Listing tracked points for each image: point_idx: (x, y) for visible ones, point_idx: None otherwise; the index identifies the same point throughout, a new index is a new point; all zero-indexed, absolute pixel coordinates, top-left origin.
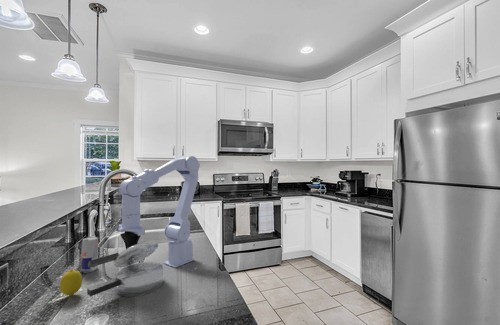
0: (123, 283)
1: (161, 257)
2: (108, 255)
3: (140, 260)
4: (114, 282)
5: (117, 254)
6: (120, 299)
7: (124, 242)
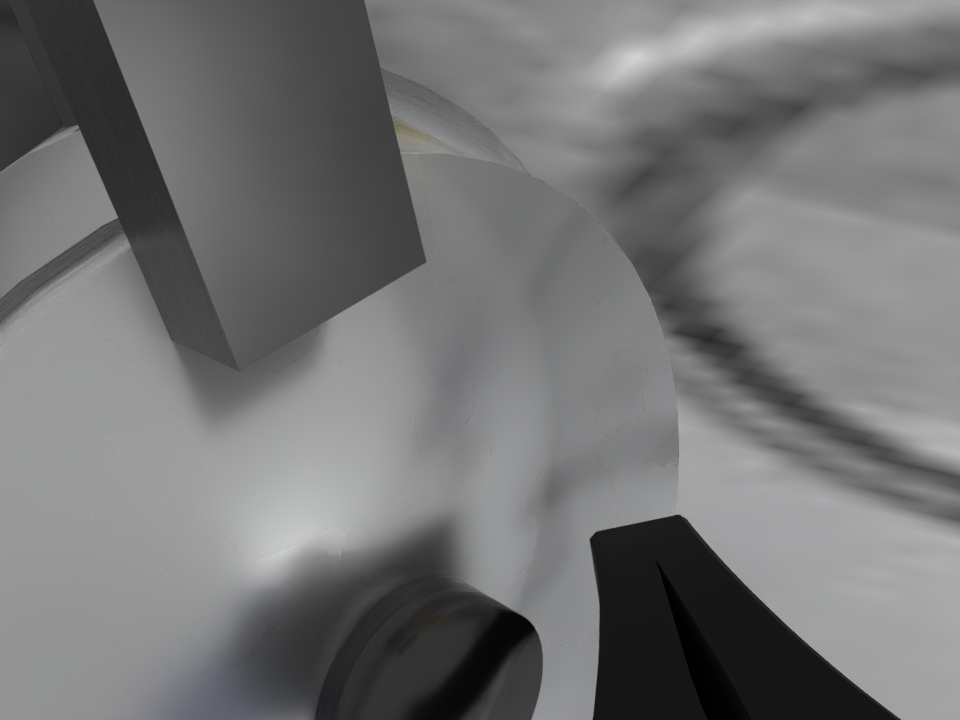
0: (29, 152)
1: (909, 692)
2: (97, 3)
3: None
4: (15, 10)
5: (195, 320)
6: (17, 43)
7: (858, 711)
